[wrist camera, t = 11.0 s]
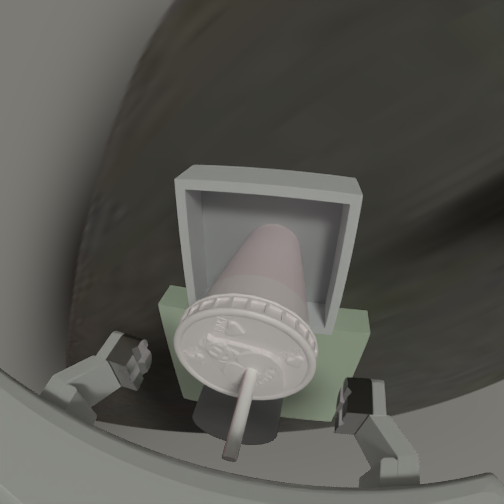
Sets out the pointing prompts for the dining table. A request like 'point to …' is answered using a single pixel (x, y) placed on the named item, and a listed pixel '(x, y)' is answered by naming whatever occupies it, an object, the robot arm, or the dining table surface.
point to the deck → (314, 268)
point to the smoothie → (252, 328)
